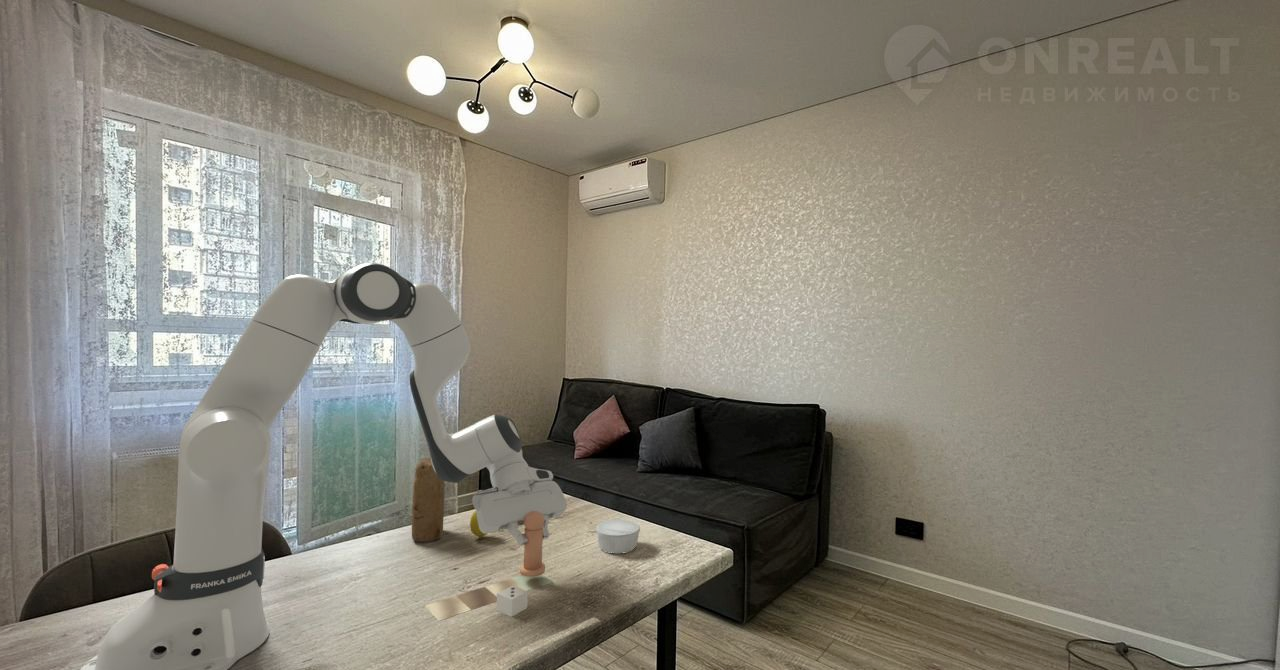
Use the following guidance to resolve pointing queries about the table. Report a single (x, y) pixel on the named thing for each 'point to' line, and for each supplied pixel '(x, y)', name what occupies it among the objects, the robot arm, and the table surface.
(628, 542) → the ramekin
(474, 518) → the lemon
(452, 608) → the board
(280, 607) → the table surface
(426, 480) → the block
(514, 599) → the die
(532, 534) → the round-topped peg
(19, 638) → the table surface
